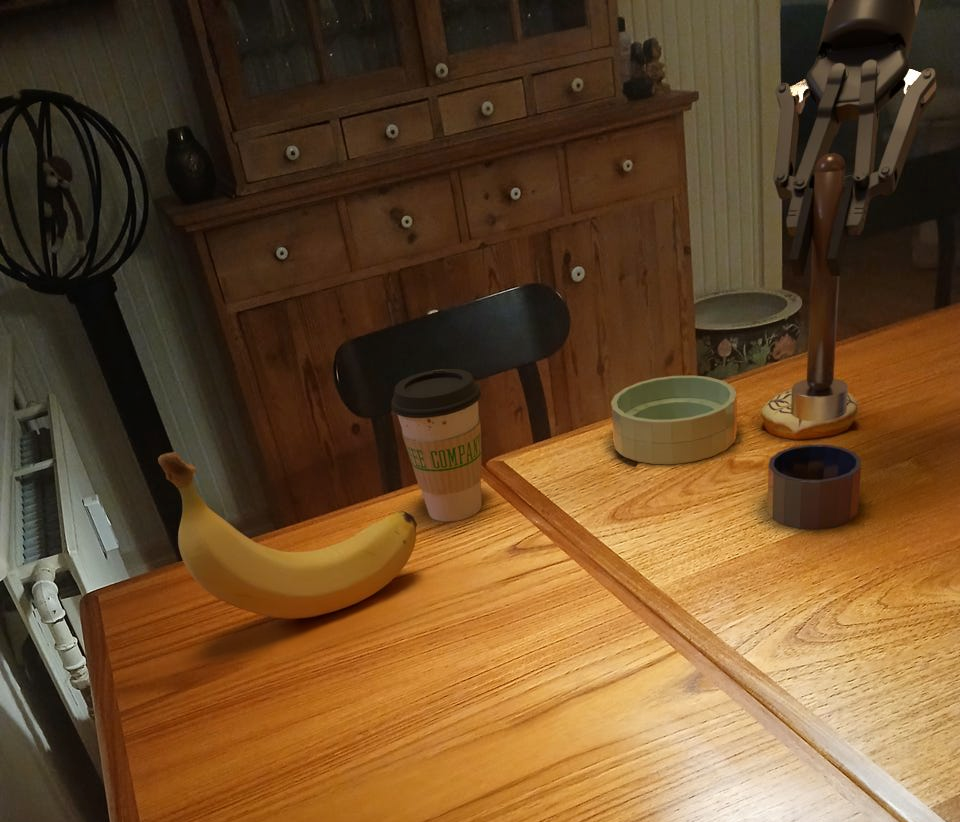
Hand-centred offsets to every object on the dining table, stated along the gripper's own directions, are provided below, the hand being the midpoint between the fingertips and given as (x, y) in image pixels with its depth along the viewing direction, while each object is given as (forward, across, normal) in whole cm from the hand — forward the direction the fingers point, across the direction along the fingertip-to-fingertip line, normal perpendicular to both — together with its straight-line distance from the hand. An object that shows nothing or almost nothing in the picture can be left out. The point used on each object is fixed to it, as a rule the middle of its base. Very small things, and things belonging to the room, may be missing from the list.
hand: (814, 267), depth 83 cm
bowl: (+5, +20, -31) cm, 37 cm away
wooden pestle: (+7, 0, -13) cm, 15 cm away
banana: (+37, +41, 0) cm, 55 cm away
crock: (+15, 0, -21) cm, 26 cm away
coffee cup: (+21, +38, -16) cm, 46 cm away
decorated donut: (0, +6, -36) cm, 37 cm away
